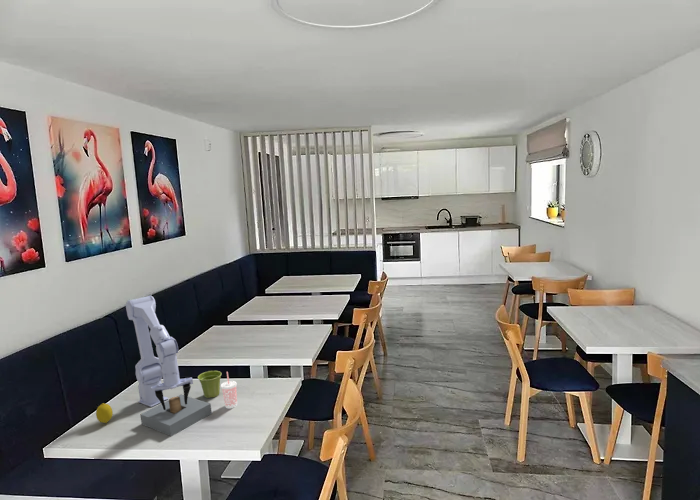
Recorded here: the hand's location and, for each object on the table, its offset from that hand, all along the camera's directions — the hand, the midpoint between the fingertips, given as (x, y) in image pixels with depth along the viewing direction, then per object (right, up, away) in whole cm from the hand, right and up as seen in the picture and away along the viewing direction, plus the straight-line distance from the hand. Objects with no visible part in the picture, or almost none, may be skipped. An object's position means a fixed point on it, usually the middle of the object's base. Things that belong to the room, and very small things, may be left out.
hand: (175, 405), depth 182 cm
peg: (0, -5, +1) cm, 5 cm away
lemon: (-27, -7, +2) cm, 28 cm away
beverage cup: (+19, -3, +8) cm, 21 cm away
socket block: (0, -5, +1) cm, 5 cm away
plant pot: (+8, -2, +19) cm, 21 cm away
